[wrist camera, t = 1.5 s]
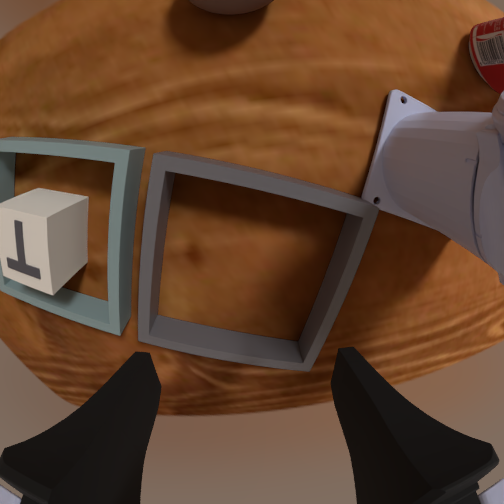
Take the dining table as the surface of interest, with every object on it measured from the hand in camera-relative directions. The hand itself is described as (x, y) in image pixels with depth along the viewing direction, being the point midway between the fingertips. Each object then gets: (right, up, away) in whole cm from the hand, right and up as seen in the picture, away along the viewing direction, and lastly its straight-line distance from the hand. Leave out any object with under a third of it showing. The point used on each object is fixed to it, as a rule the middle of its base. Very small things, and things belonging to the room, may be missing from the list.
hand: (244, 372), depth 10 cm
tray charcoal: (0, +4, +9) cm, 9 cm away
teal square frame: (-14, +7, +7) cm, 17 cm away
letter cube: (-14, +7, +7) cm, 17 cm away
